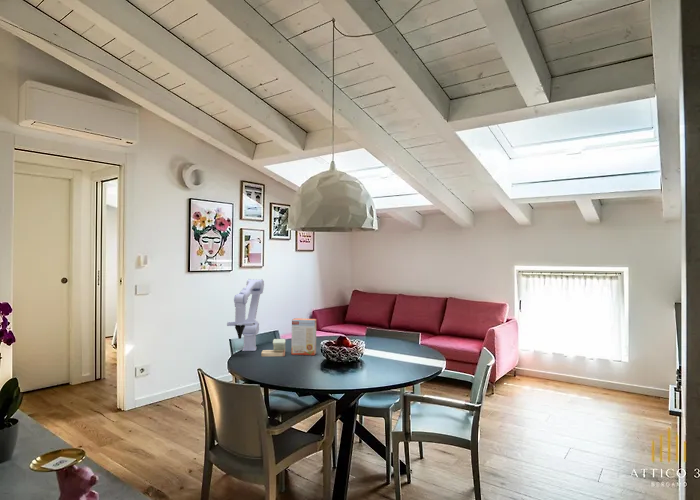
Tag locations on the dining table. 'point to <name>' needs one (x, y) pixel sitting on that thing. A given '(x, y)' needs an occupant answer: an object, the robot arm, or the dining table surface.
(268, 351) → the panel
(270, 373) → the dining table surface
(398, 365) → the dining table surface
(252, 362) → the dining table surface
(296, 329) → the cracker box
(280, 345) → the overhang
